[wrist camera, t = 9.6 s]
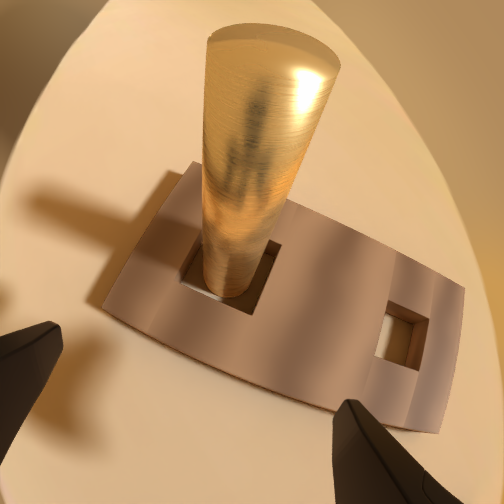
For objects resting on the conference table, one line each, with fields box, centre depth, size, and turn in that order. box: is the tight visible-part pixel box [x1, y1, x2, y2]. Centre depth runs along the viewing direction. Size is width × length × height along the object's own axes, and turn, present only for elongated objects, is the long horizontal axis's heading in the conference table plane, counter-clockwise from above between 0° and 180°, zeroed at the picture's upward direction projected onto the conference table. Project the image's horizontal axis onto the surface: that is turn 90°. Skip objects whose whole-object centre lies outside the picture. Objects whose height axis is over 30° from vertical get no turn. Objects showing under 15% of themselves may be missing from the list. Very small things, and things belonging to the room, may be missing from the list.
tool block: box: [101, 161, 465, 434], centre depth 19 cm, size 24×12×2 cm, turn 67°
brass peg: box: [202, 23, 341, 298], centre depth 13 cm, size 3×3×16 cm
